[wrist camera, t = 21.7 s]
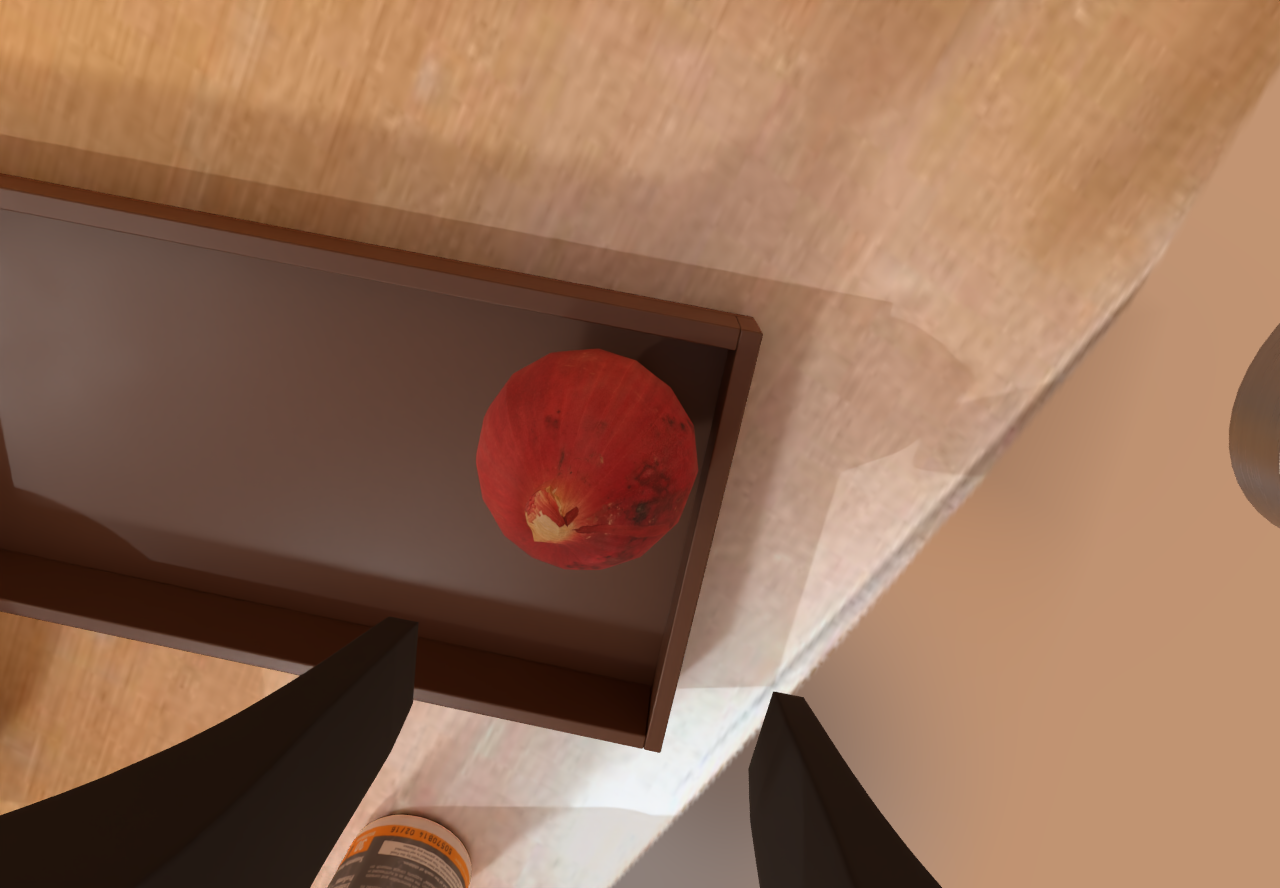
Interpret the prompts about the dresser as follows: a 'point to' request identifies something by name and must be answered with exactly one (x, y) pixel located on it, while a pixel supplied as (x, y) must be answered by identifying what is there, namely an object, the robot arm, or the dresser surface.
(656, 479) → the pomegranate
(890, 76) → the dresser surface
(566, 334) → the brown dish
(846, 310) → the dresser surface
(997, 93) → the dresser surface
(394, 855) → the pill bottle
